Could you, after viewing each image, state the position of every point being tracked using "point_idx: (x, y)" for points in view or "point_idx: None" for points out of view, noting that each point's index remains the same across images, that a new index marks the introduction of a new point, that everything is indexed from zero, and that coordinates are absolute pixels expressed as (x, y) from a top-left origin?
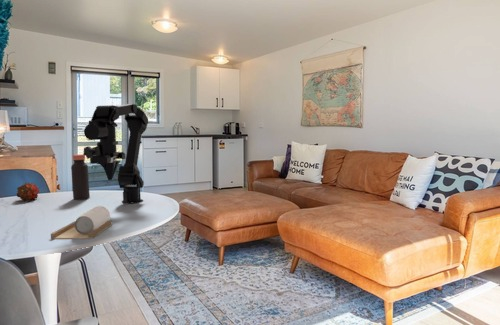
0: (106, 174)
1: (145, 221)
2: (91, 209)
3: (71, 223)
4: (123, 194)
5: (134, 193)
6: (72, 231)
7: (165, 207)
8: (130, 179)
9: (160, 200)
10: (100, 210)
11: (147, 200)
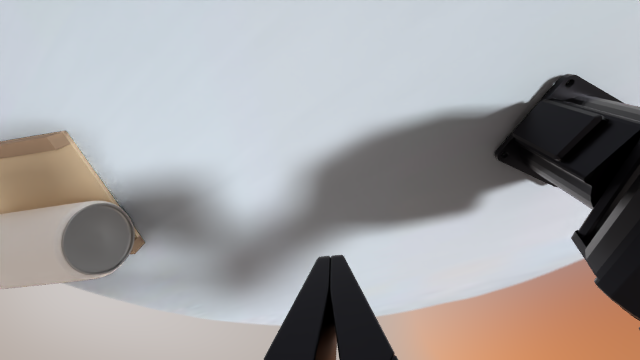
0: (286, 318)
1: (219, 298)
2: (4, 268)
3: (14, 147)
4: (573, 119)
5: (561, 188)
6: (8, 178)
7: (397, 293)
8: (615, 271)
9: (544, 245)
10: (44, 284)
11: (568, 194)
